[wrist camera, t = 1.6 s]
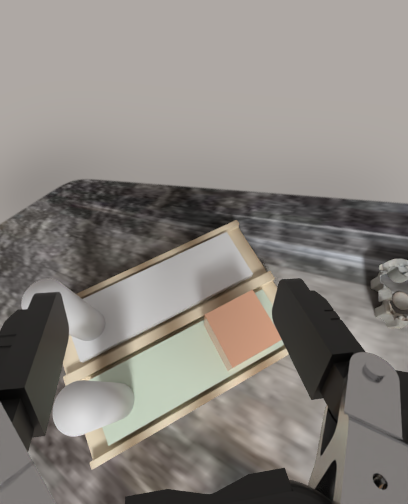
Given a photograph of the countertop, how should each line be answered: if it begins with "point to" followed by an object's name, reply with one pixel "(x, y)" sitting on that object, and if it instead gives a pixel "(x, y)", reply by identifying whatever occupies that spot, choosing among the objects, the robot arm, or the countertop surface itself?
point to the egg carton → (398, 273)
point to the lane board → (163, 332)
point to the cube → (240, 329)
